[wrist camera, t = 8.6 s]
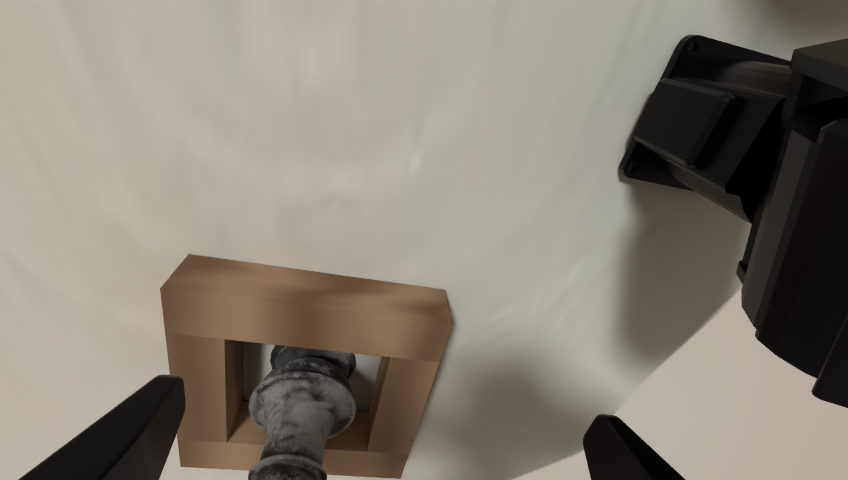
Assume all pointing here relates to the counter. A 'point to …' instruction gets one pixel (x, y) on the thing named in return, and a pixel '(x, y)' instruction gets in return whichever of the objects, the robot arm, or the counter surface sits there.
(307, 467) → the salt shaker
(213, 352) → the well block
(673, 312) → the counter surface
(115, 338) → the counter surface
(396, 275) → the counter surface
